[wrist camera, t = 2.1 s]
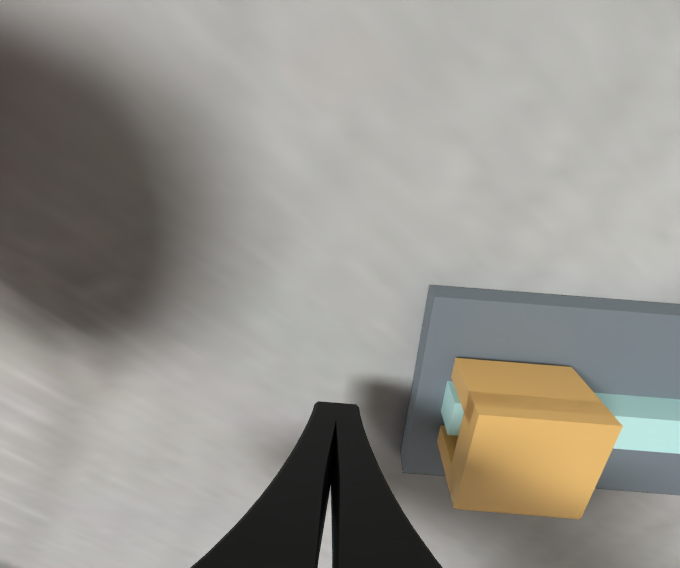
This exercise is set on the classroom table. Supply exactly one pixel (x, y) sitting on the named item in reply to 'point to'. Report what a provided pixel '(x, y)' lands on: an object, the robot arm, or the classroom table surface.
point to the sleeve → (525, 439)
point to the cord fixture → (558, 350)
